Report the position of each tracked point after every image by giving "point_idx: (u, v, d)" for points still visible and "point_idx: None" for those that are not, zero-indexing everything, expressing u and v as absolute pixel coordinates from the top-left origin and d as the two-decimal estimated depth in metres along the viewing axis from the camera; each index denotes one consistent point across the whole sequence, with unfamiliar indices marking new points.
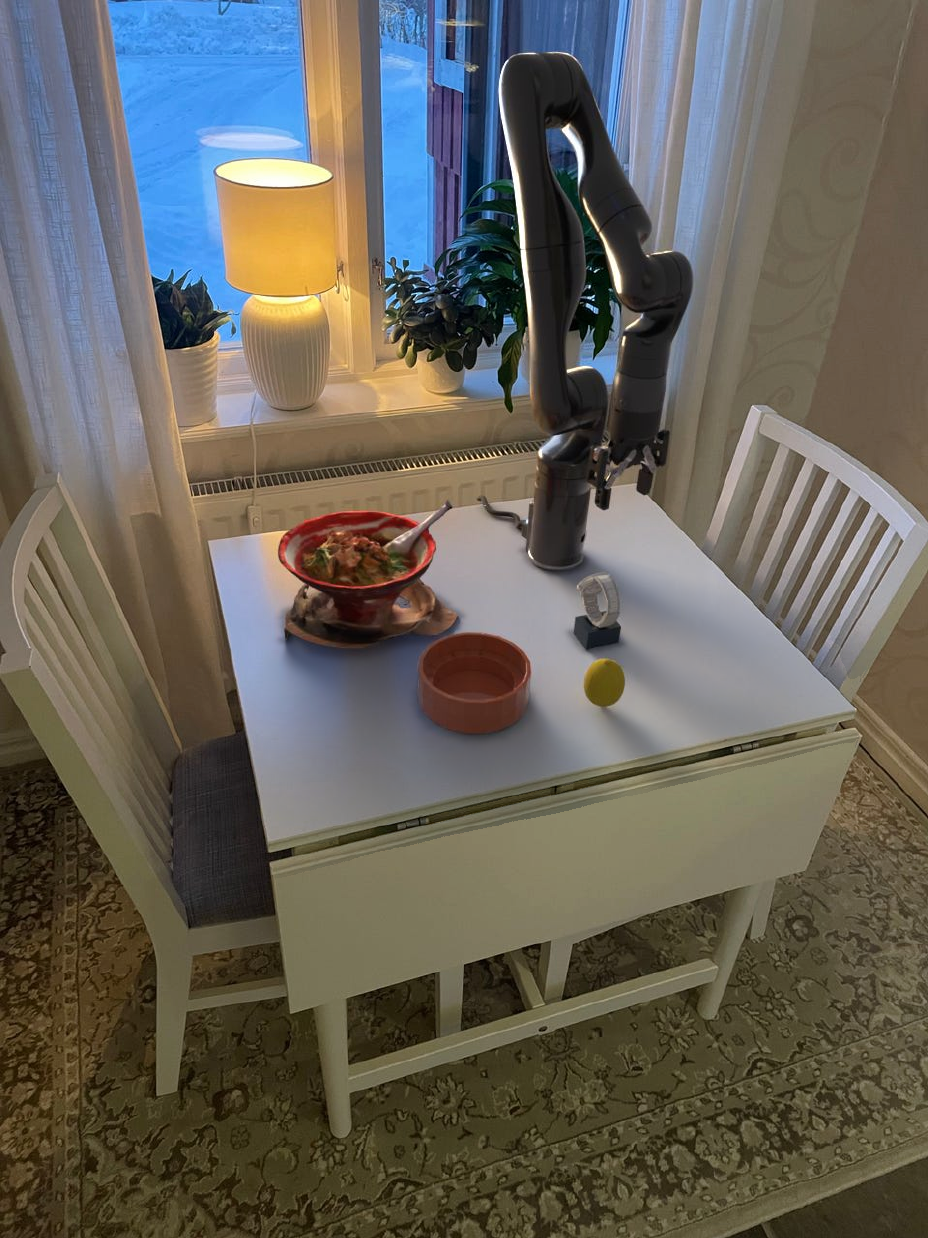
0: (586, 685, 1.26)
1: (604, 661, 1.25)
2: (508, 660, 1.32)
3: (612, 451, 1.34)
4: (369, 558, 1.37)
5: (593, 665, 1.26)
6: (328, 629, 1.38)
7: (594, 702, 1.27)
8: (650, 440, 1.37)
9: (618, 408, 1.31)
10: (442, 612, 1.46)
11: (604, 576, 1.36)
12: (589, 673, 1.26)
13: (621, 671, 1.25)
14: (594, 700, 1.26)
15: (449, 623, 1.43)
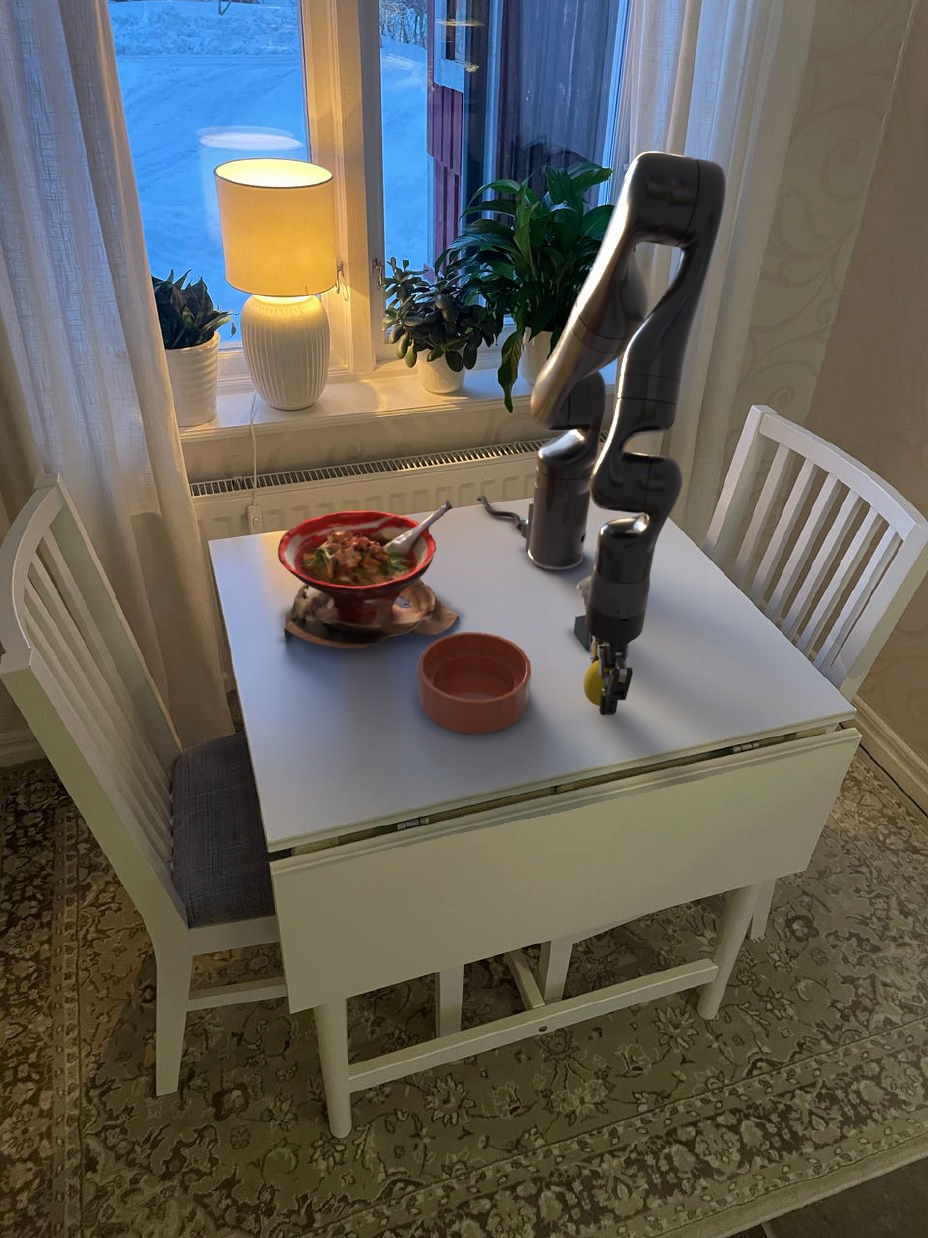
0: (586, 685, 1.26)
1: None
2: (508, 660, 1.32)
3: None
4: (369, 558, 1.37)
5: (593, 665, 1.26)
6: (327, 629, 1.38)
7: (594, 702, 1.27)
8: None
9: (625, 617, 1.16)
10: (442, 612, 1.46)
11: None
12: (589, 673, 1.26)
13: None
14: (594, 700, 1.26)
15: (449, 623, 1.43)
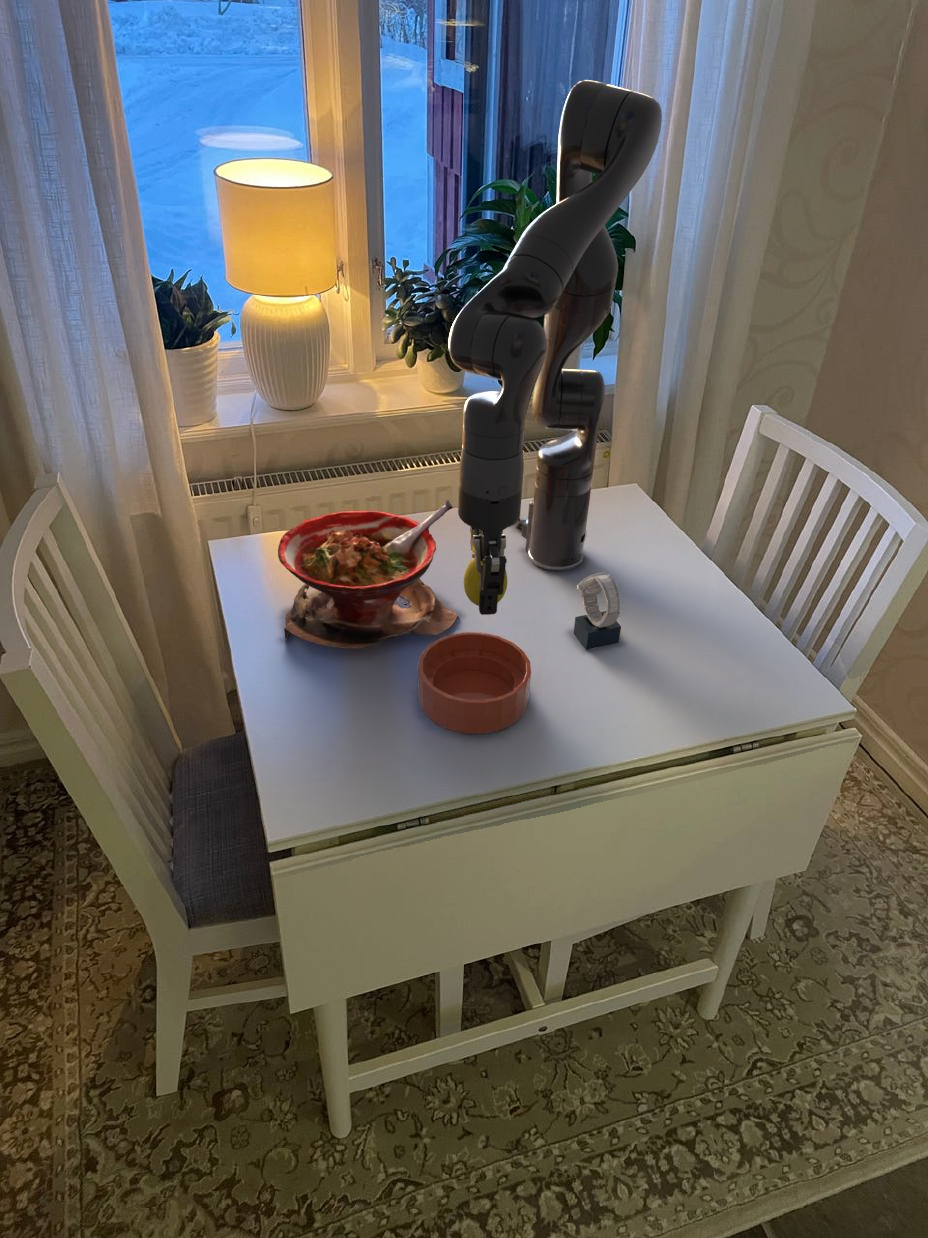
0: (465, 583, 1.17)
1: None
2: (508, 660, 1.32)
3: None
4: (369, 558, 1.37)
5: (472, 560, 1.17)
6: (328, 629, 1.38)
7: (474, 601, 1.18)
8: None
9: (496, 499, 1.07)
10: (442, 612, 1.46)
11: (604, 576, 1.36)
12: (467, 569, 1.17)
13: None
14: (474, 598, 1.17)
15: (449, 623, 1.43)
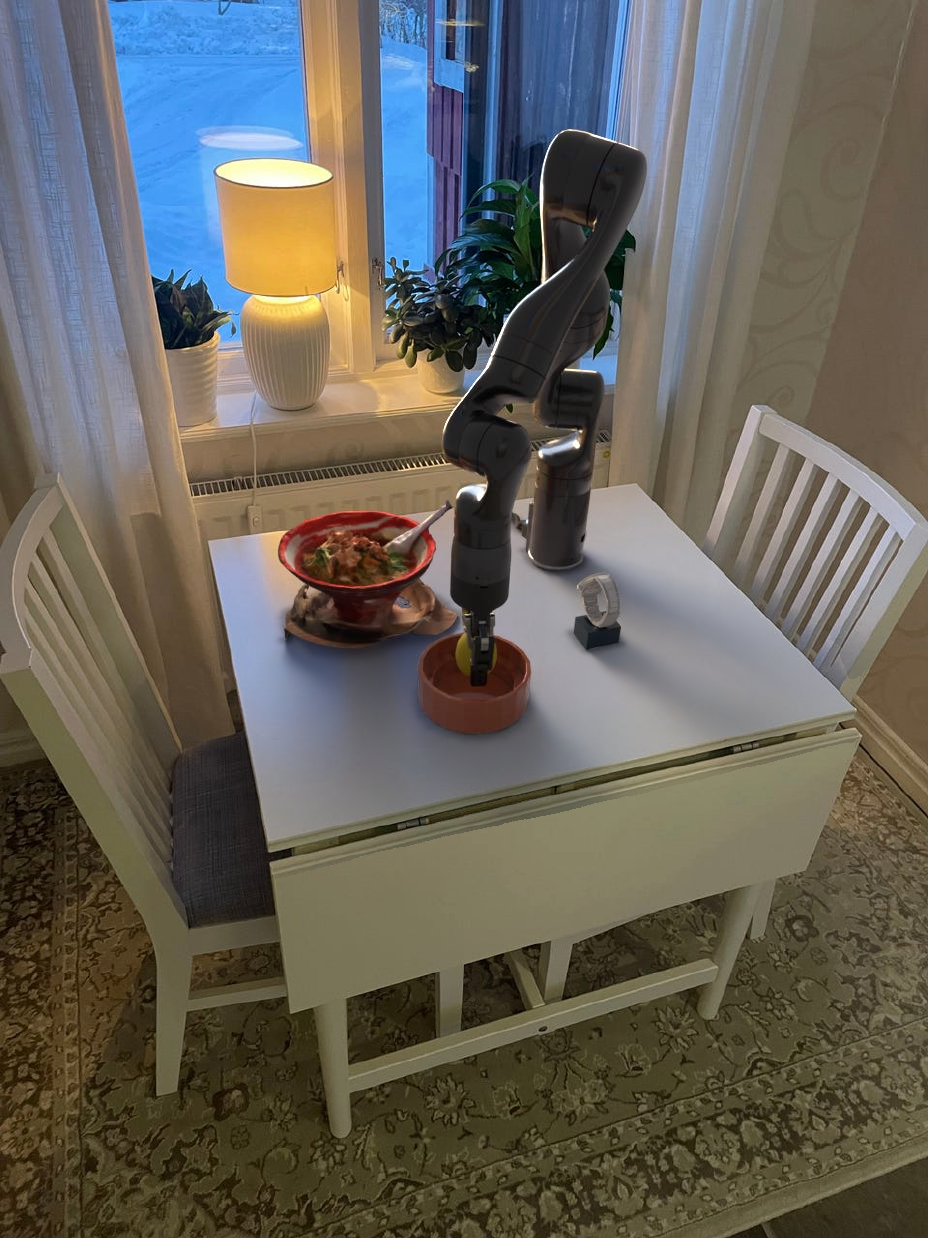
0: (457, 656, 1.24)
1: None
2: (508, 660, 1.32)
3: None
4: (369, 558, 1.37)
5: (463, 635, 1.24)
6: (327, 629, 1.38)
7: (465, 673, 1.25)
8: None
9: (485, 584, 1.14)
10: (442, 612, 1.46)
11: (604, 576, 1.36)
12: (459, 643, 1.24)
13: None
14: (465, 671, 1.24)
15: (449, 623, 1.43)
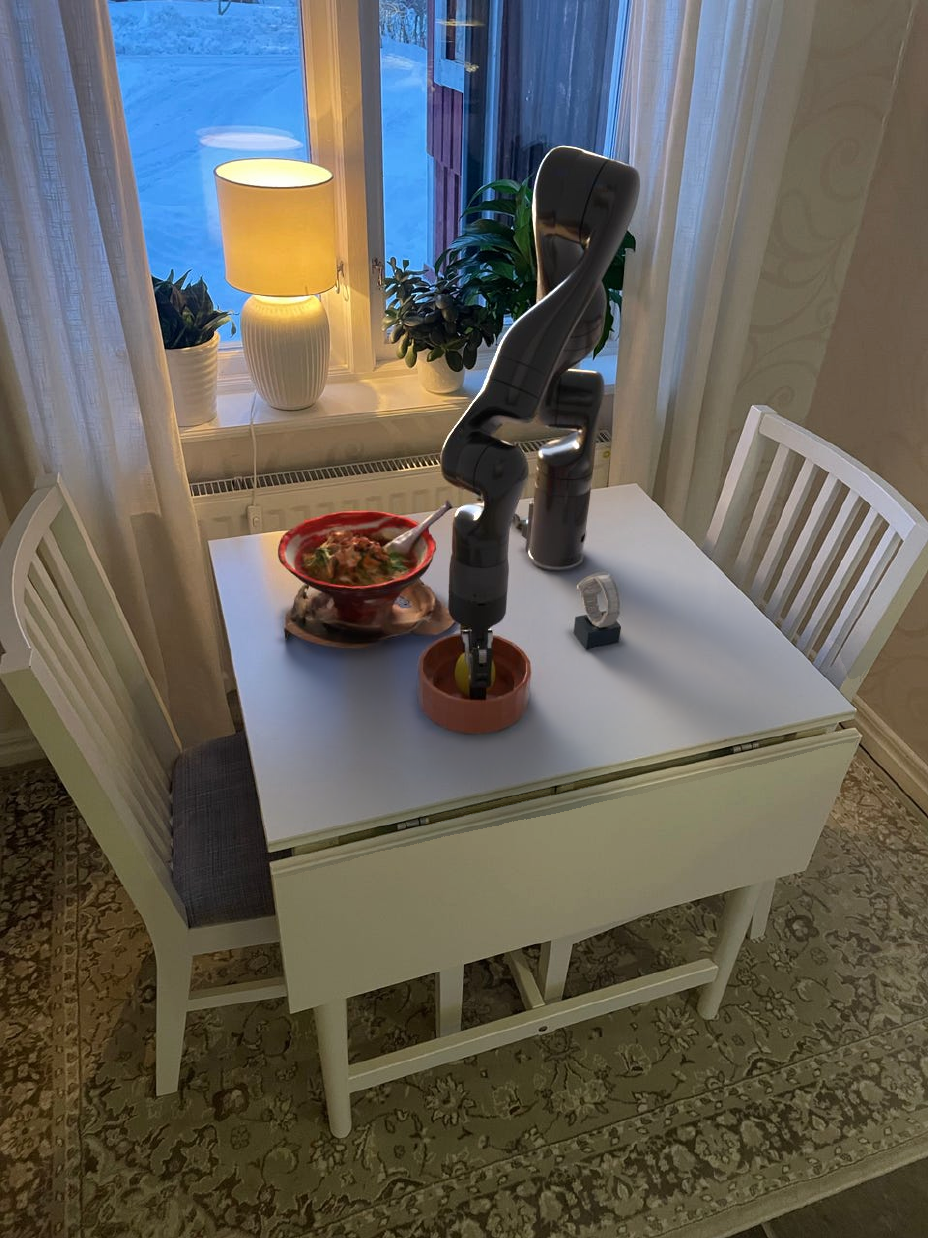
0: (456, 676, 1.26)
1: None
2: (508, 660, 1.32)
3: (484, 644, 1.19)
4: (369, 558, 1.37)
5: (462, 655, 1.26)
6: (328, 629, 1.38)
7: (464, 692, 1.27)
8: None
9: (483, 602, 1.16)
10: (442, 612, 1.46)
11: (604, 576, 1.36)
12: (458, 663, 1.26)
13: None
14: (464, 690, 1.26)
15: (449, 623, 1.43)
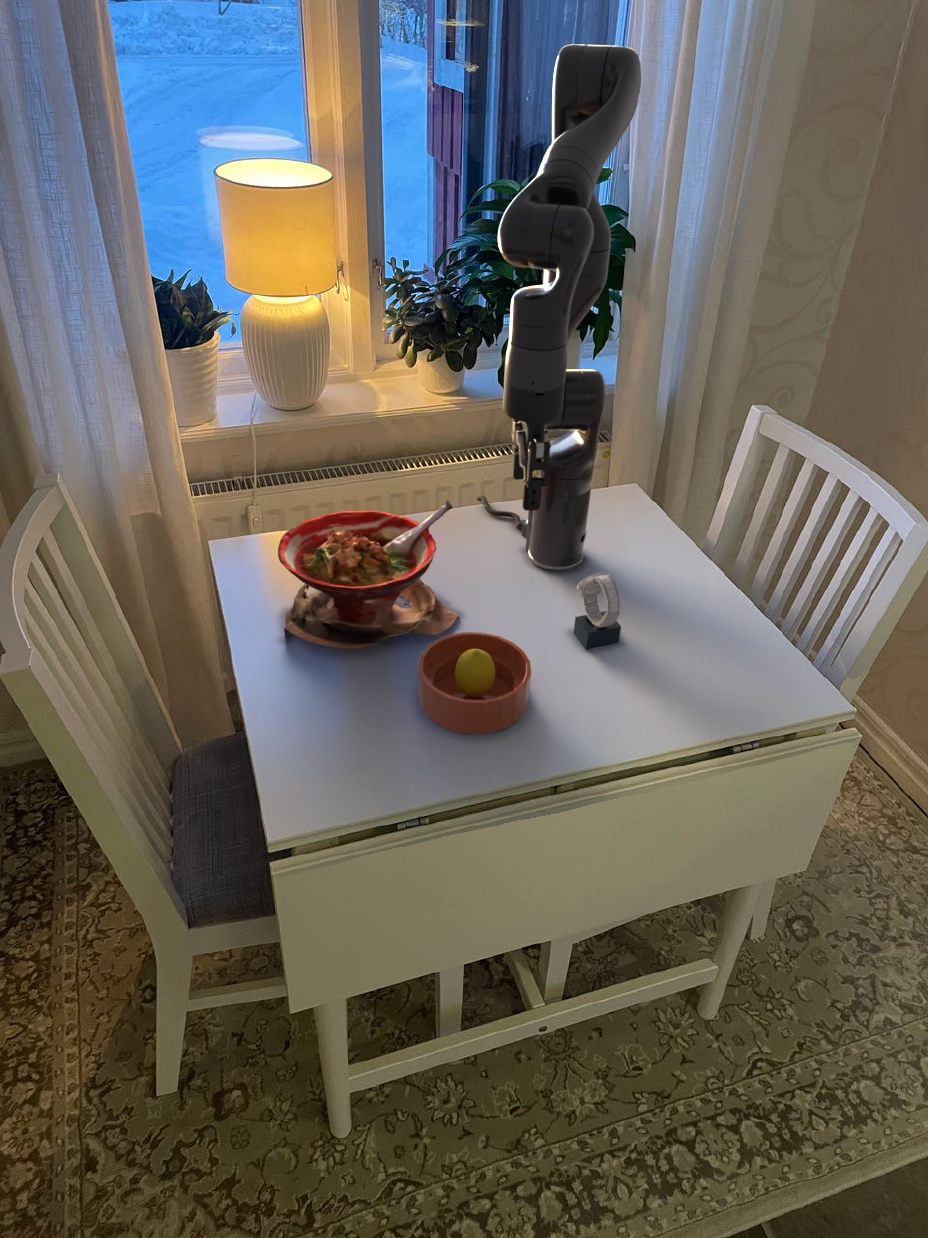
0: (456, 676, 1.26)
1: (472, 651, 1.25)
2: (508, 660, 1.32)
3: None
4: (369, 558, 1.37)
5: (462, 655, 1.26)
6: (327, 629, 1.38)
7: (464, 692, 1.27)
8: None
9: (541, 391, 1.12)
10: (442, 612, 1.46)
11: (604, 576, 1.36)
12: (458, 663, 1.26)
13: (490, 661, 1.25)
14: (464, 690, 1.26)
15: (449, 623, 1.43)
